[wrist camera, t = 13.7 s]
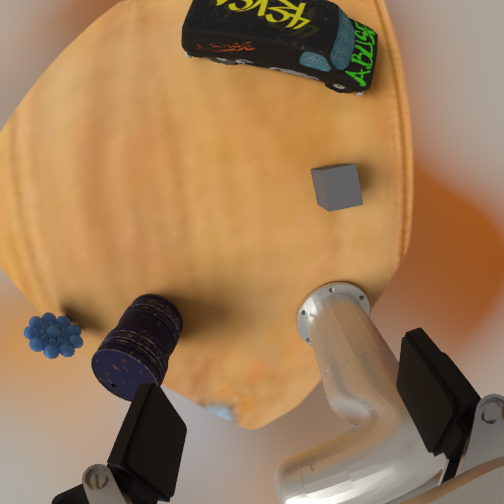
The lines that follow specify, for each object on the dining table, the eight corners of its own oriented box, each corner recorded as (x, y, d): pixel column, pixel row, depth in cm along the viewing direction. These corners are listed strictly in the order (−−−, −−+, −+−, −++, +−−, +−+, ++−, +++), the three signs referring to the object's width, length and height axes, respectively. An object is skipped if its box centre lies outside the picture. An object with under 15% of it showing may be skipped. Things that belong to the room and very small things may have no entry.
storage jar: (152, 282, 41) (112, 335, 27) (195, 324, 43) (174, 388, 29) (119, 313, 43) (79, 366, 29) (159, 350, 45) (133, 410, 31)
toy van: (357, 100, 32) (387, 84, 23) (187, 63, 31) (167, 35, 21) (365, 44, 29) (393, 18, 19) (205, 8, 27) (194, -27, 18)
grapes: (46, 318, 44) (15, 348, 33) (49, 295, 42) (14, 324, 31) (88, 347, 46) (61, 384, 34) (92, 326, 44) (62, 363, 33)
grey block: (347, 197, 37) (362, 204, 31) (317, 204, 37) (329, 211, 31) (340, 163, 35) (355, 164, 29) (310, 169, 35) (321, 170, 30)
